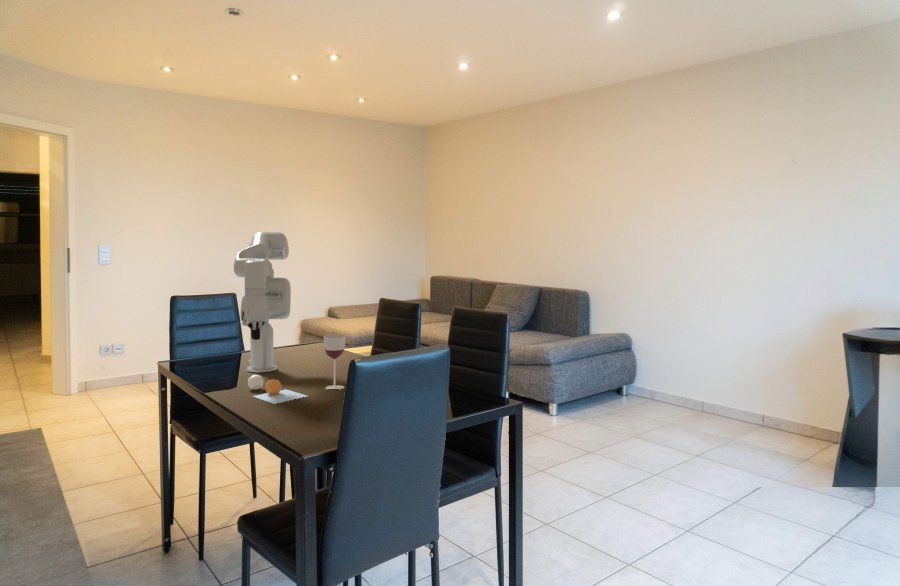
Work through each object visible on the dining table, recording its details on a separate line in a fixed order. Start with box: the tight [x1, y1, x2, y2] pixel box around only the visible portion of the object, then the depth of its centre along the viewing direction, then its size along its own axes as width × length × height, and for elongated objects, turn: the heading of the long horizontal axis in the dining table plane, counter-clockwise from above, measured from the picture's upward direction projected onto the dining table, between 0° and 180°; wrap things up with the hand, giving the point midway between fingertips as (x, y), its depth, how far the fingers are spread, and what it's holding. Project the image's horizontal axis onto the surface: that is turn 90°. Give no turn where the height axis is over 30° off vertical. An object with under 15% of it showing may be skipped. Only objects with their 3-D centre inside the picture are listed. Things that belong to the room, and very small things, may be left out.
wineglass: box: [323, 333, 346, 390], centre depth 222 cm, size 8×9×20 cm
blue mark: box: [252, 389, 309, 405], centre depth 208 cm, size 14×14×1 cm
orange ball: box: [265, 378, 282, 395], centre depth 211 cm, size 6×6×6 cm
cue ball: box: [247, 374, 264, 391], centre depth 217 cm, size 6×6×6 cm
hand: (255, 339), depth 225 cm, fingers closed
